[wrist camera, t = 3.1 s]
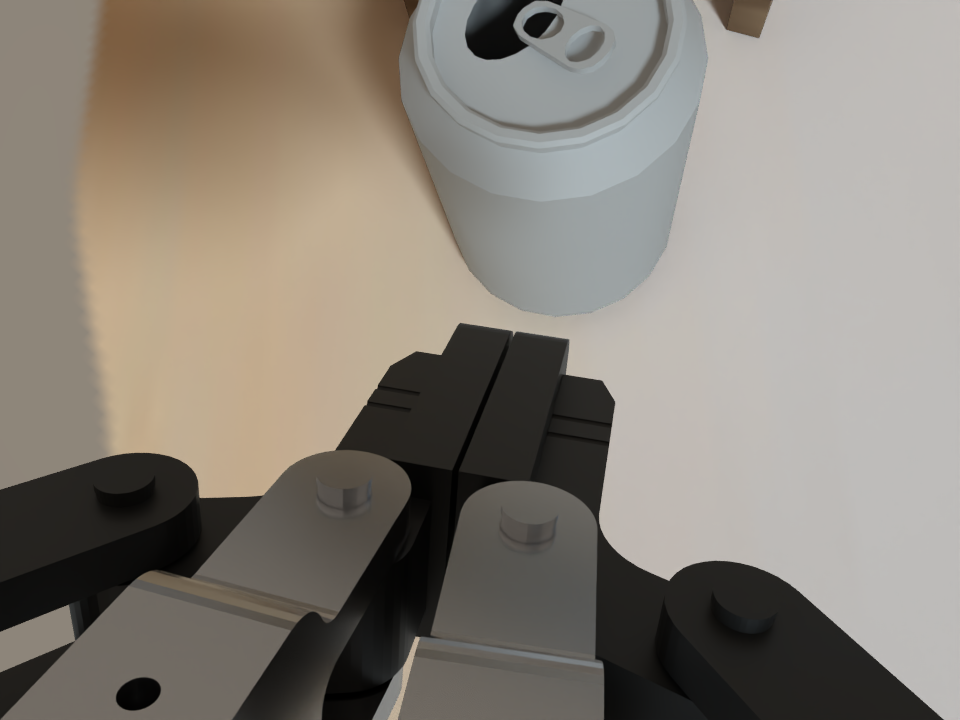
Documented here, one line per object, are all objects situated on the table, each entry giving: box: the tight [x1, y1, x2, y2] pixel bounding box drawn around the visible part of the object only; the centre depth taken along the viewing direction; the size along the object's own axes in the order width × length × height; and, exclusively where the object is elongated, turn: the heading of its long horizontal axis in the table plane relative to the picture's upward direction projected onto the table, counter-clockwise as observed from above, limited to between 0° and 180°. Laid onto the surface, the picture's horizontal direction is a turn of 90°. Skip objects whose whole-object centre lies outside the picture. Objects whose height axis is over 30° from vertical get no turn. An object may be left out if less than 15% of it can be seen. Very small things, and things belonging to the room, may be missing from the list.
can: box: [399, 0, 708, 317], centre depth 26 cm, size 8×8×12 cm
